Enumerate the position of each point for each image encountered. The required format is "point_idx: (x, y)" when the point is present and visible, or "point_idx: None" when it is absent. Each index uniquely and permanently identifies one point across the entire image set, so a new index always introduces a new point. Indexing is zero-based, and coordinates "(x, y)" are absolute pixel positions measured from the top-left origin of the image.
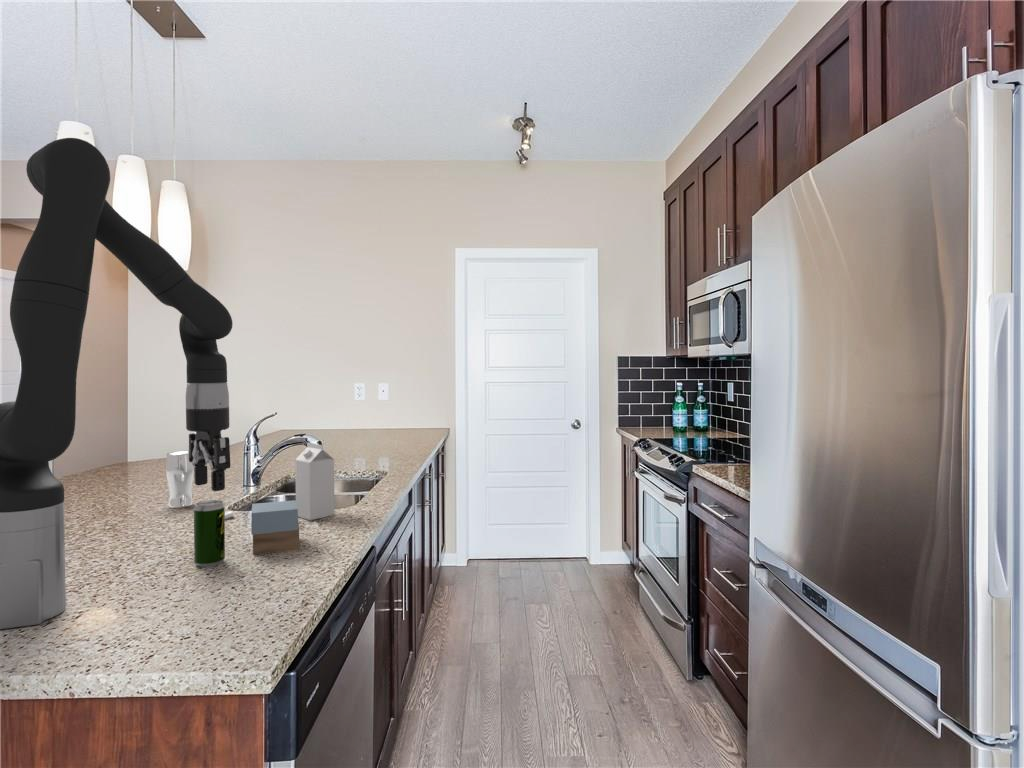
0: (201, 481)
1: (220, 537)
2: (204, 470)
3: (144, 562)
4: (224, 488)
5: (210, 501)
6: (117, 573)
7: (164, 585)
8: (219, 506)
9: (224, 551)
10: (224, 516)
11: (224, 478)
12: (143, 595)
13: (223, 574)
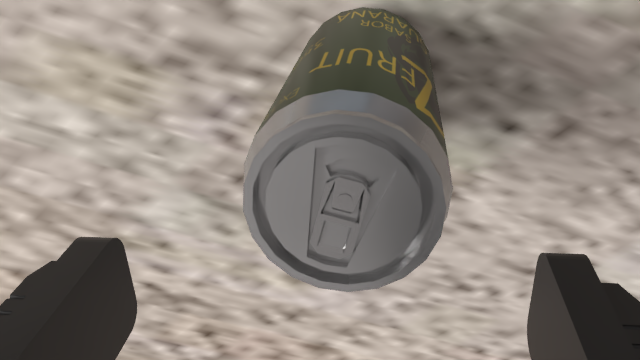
0: (118, 299)
1: (432, 81)
2: (51, 357)
3: (168, 230)
4: (581, 254)
5: (297, 185)
6: (239, 314)
7: (496, 267)
8: (435, 161)
9: (404, 27)
10: (394, 77)
11: (626, 334)
12: None
13: (572, 86)
